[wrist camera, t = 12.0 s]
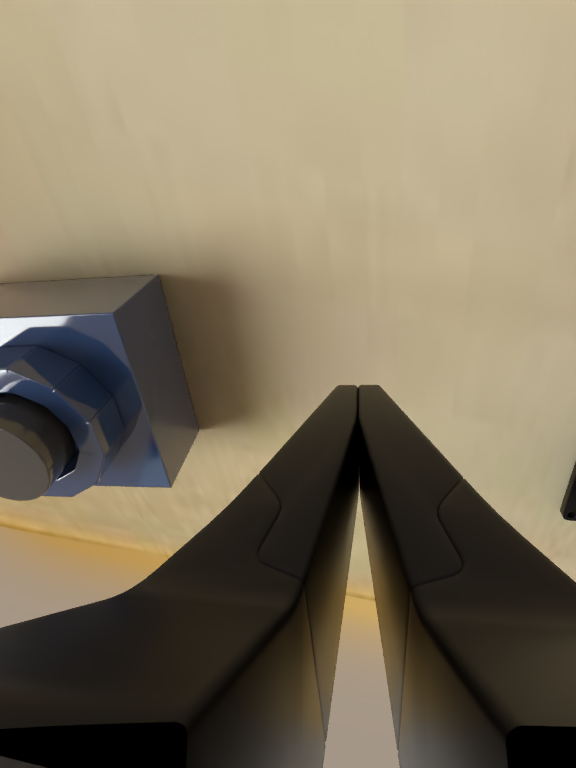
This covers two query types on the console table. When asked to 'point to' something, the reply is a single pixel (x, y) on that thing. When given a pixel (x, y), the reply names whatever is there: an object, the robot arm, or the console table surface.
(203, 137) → the console table surface
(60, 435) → the cylinder
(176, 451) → the blue stepped block
